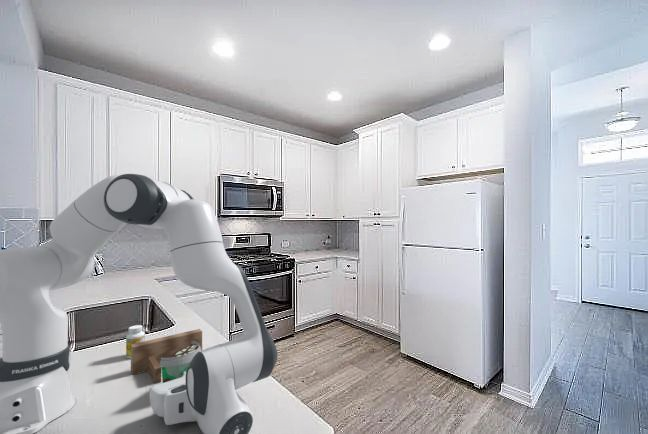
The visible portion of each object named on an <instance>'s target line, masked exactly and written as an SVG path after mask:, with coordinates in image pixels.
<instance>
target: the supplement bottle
mask: <svg viewBox="0 0 648 434" xmlns="http://www.w3.org/2000/svg"><path fill="white" fill-rule="evenodd" d="M143 330H144V329H143V325H141V324H136V325H132V326H129V327H128V334H127V335H126V337H125V340H126V341H125V355H126V358H127V359H130V360H131V344H135V343H140V342H144V341H146V333H145V332H144V331H143Z"/></svg>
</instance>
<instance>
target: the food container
mask: <svg viewBox="0 0 648 434" xmlns="http://www.w3.org/2000/svg"><path fill="white" fill-rule="evenodd" d="M200 351H201V347H200V345H199V343H197V342H194V341H191V345H189V346H188V347H186V348H184V349H181V350H178V351H177V352H175V353H174V354H173V355H171V356H170V357H168V358H161V361H160V365H159V367H161V382H162V383H165V382H168V381H171V380H174V379H177V378H181V377H183V372H184V371H187V369H188V367H189V364H190V362H191V361H192V359H193V357H194V356H195V355H196V353H197V352H200Z"/></svg>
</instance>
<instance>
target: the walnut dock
mask: <svg viewBox="0 0 648 434" xmlns="http://www.w3.org/2000/svg"><path fill="white" fill-rule="evenodd" d="M191 341H194V342H197V343H199V345H200V347H201V351H202V350H203V331H202V330H201V329H200V328H198V329H193V330H189V331H185V332H180V333H175V334H170V335H167V336H162V337H158V338H153V339H150V340H149V339H148V340H145V341H144V342H140V343H135V344H131V359H130V373H131V375H132V376H133V375H137V374H141V373H143V372H145V373H146V372H148V374H149V376H150V377H151V378H152V381H153V382H154V384H155V385H157V384H158V383H159V384H160V383H162V368H161V367H159V365H160V361H161V358H168V357H170V356H171V355H173V354H174V353H175V352H177V351H178V350H181V349H184V348H186V347H188V346H189V345H191Z"/></svg>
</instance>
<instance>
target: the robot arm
mask: <svg viewBox="0 0 648 434" xmlns="http://www.w3.org/2000/svg"><path fill="white" fill-rule="evenodd" d="M127 224H128V225H135V226H139V227H143V228H147V229H159V230H160V229H161V230H164V232H165V233H166V236H167V239H168V240H167V241H168V248H169V255H170V261H171V265H172V270H173V272H174V275H175V277H176V278H177V279H178V280H179V282H182V283H183V284H184V285H187V286H189V287H190V288H193V289H198V290H204V291H212V292H218V293H221V294H223V295H225V296H227V297H229V298H230V300H231V302H232V304H233V305H234V308H235V310H236V314H237V316H238V319H239V322H240V324H241V327H242V331H243V334H242V336H240V337H237V338H234V339H231V340H229V341H226V342H223V343H219V344H217V345H213V346H211V347H207V348H205V349H202V351H200V352H197V353H196V355H195V356H194V357H193V359H192V361H191V362H190V364H189V367H188V369H187V371H184V372H183V377H181V378H177V379H174V380H171V381H168V382H165V383H163V382H160V383H159V384H158V383H157V384H155V385H153V386H152V387H151V388H149V389H150V390H149V405H150V407H151V409H152V410H153V412H154V413H155V414H156V415H157V416H159V417H161V418H163V420H164V424H165V425H166V426H171V425H175V424H182V423H186V422H187V423H188V422H189V423H190V422H196V423H197V424H198V427H199V429H200V431H201V432H202V433H203V434H249V433H250V431H251V429H252V427H253V423H254V417H253V413H252V411H251V409H250V407H249V405H248V404H247V403H246V402H245V400H244V399H243V398H242V397H241V396H240V394H239V393H238V392H237V391H236V390H238V389H241V388H242V387H245V386H247V385H249V384H252V383H256V382H258V381H261V380H263V379H266V378H267V379H268V378H269V377H270V376H271V374H272V373H273V370H274V369H275V366H276V364H277V361H278V350H277V345H276V344H275V341H274V340H273V338H272V335H271V333H270V332H269V330H268V328H267V326H266V323H265V320H264V318H263V316H262V313H261V310H260V307H259V305H258V302H257V299H256V296H255V294H254V291H253V289H252V286H251V283H250V281H249V279H248V277H247V275H246V273H245V270H244V269H243V268H242V266H240V265H239V264H235V263H234V261H232V259H231V258H230V257H229V255H228V253H227V251H226V249H225V244H224V240H223V236H222V232H221V227H220V225H219V221H218V218H217V217H216V213H215V211H214V209H213V207H212V206H211V205H210V204H209V202H206V201H204V200H201V199H197V198H196V199H195V198H194V197H193V196H192V195H191V194H189V193H188V192H187V191H185V190H182V189H179V188H178V187H176V186H175V185H172V184H170V183H169V182H165V181H160V180H158V179H154V178H151V177H148V176H147V175H142V174H138V173H124V174H120V175H117V174H116V175H115V174H114V175H110V176H108V177H105V178H103V179H101V180H100V181H99V182H97V183H95V184H94V185H93V186H91V187H89V188H88V189H87V190H85V191H84V192H83V193H82V194H80V195H79V196H78V197H77V198H75V200H73V201H72V202H71V203H70V204H69V205H68V206H67V207H65V209H63V210H62V211H61V212H60V213H59V214H58V215H57V216H55V218H54V219H53V220H52V221H51V222H50V225H49V231H50V235H51V239H50V240H49V241H47V242H46V243H44V244H41V245H38V246H29V247H27V246H26V247H16V248H15V247H14V248H3V249H1V250H0V326H1V338H2V339H1V341H2V348H1V349H2V353H1V354H2V357H1V356H0V434H35V433H37V432H39V431H41V429H43V428H44V427H45V426H47V424H48V423H51V422H52V421H54V420H56V419H58V418H59V417H61V416H62V415H64V414H65V413H67V412H68V411H69V410H70V409H71V408H72V407H74V405H75V403H76V398H75V395H74V393H73V389H72V386H71V385H72V384H71V380H70V373H69V369H70V366H71V356H72V355H71V354H72V353H71V346H70V344H69V342H68V341H69V316H68V313H67V312H66V311H64V310H63V309H61V308H59V307H55V306H54V305H53V303H52V301H51V297H50V292H51V291H54V290H59V289H62V288H67V287H70V286H72V285H74V284H77V283H79V282H81V281H84V280H85V279H87V278H88V277H89V276H90V275H91V274H92V272H93V271H94V267H95V260H94V257H95V255H96V254H97V253H98V251H99V250H101V248H102V247H103V246H104V245H106V243H108V241H109V240H111V239H112V238H113V237H114V236H115V235H116V234H117V233H119V232H120V230H121V229H122V228H124V227H125V226H126V225H127Z"/></svg>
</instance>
